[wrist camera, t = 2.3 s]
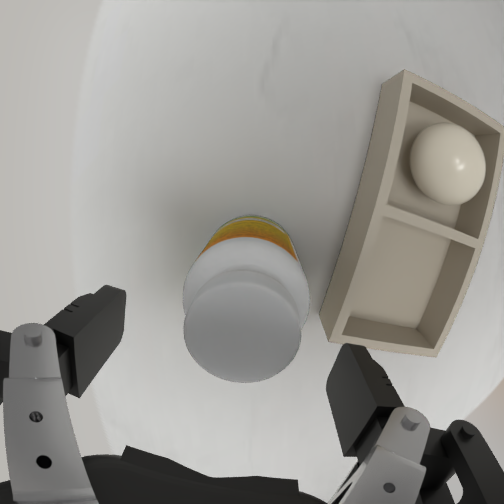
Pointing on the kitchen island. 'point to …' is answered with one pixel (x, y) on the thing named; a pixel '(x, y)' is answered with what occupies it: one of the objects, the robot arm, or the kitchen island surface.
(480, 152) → the egg
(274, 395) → the kitchen island surface
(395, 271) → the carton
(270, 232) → the supplement bottle
